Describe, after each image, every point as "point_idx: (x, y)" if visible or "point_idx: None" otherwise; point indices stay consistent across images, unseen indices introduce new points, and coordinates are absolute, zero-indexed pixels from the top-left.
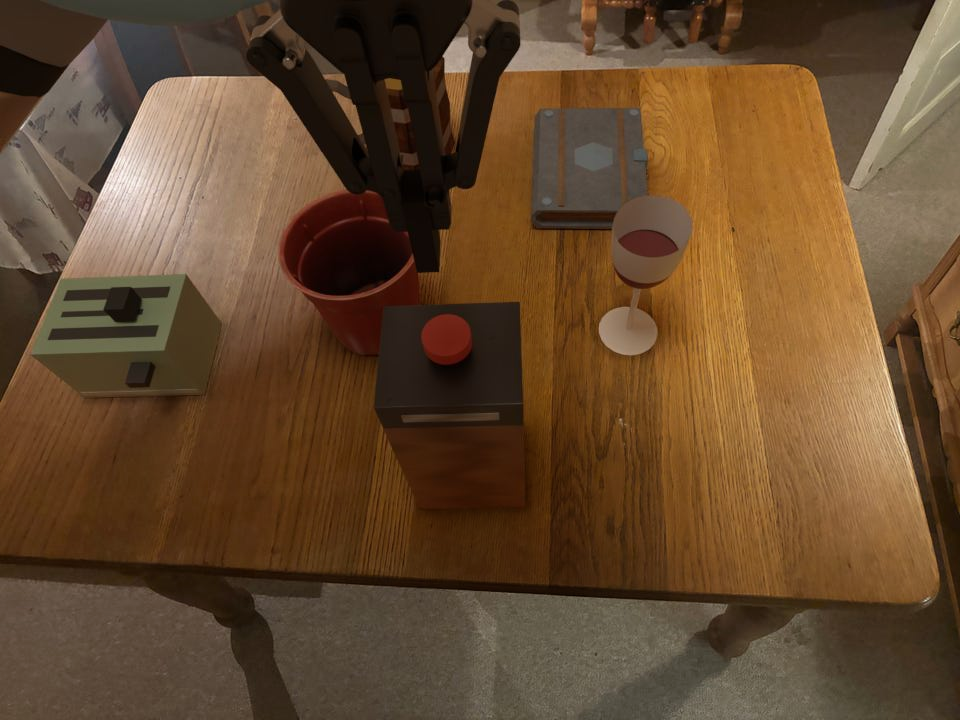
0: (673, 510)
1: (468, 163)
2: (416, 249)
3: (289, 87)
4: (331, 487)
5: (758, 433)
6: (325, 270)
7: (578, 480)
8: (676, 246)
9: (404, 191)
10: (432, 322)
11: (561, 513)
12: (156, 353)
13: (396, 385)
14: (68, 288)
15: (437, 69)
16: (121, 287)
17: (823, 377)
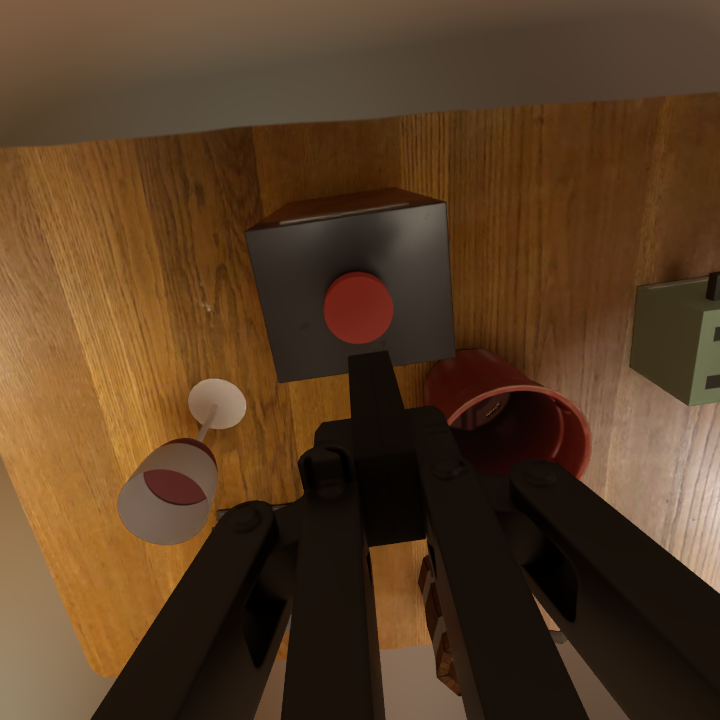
0: (140, 219)
1: (216, 572)
2: (386, 378)
3: None
4: (489, 199)
5: (73, 311)
6: (531, 430)
7: (239, 239)
8: (150, 489)
9: (413, 484)
10: (380, 328)
11: (250, 201)
12: (711, 308)
13: (420, 240)
14: None
15: (442, 665)
16: None
17: (22, 376)
